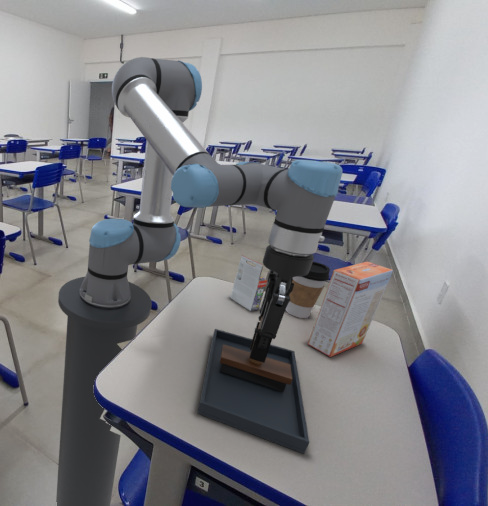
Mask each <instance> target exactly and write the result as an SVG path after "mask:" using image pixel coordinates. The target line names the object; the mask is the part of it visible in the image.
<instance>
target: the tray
mask: <svg viewBox="0 0 488 506" xmlns="http://www.w3.org/2000/svg"><path fill="white" fill-rule="evenodd" d="M252 339H253V338H250V337H245V336H242V335H239V334H235V333H231V332H228V331H225V330H222V329H217V328H214V331H213V334H212V339H211V344H210V348H209V354H208V359H207V364H206V369H205V374H204V378H203V384H202V389H201V392H200V393H201V394H200V399H199V405H198V410H197V414H198V415H199V416H203V417H206V418H208V419H211V420H213V421H216V422H219V423H221V424H223V425H227V426H229V427H232V428H234V429H236V430H240V431H241V432H245V433H247V434H250V435H253V436H255V437H258V438H260V439H262V440H263V439H264V440H266V441H269V442H272V443H273V444H276V445H278V446H282V447H283V448H287V449H288V450H289V449H290V450H292V451H295V452H297V453H300V454H302V455H305V454H306V451H307V449H308V446H309V444H310V438H309V432H308V426H307V420H306V419H307V418H306V413H305V408H304V402H303V396H302V390H301V382H300V377H299V371H298V365H297V359H296V353H295V351H294V350H292V349H288V348H284V347H281V346H278V345H275V344H271V345H270V348H269V351H268V354H267V358H271V359H274V360H277V361H281V362H284V363H287V364H290V366H291V373H292V382H291V384H290V385H288V384H286V387H285V390H284V392H281V391H278V390H275V389H272V388H269V387H266V386H263V385H260V384H256V383H253V382H250V381H247V380H244V379H241V378H238V377H235V376H232V375H229V374H226V373H223V372H220V366H221V363H220V357H221V350H222V346H223V344H224V345H227V346H230V347H234V348H237V349H240V350H244V351H247V352H250V353H251V350H250V346H251V343H252Z"/></svg>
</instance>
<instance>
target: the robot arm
mask: <svg viewBox="0 0 488 506" xmlns="http://www.w3.org/2000/svg"><path fill="white" fill-rule="evenodd" d="M202 90H203V80H202V76H201V73H200V71H199V70H198V69H197V67H196V66H195V65H194V64H191V63H190V62H185V61H182V60H175V59H174V60H173V59H162V58H153V57H152V58H151V57H146V56H139V57H135V58H132V59H129V60H128V61H126V62H125V63H124V64H122V65H121V66H120V67H119V68H118V70H117V71H116V73H115V75H114V77H113V80H112V83H111V97H112V100H113V103H114V105H115V106H116V108H117V109H118V111H119V113H120V114H121V115H122V116H124V117H126V118H130V120H131V121H132V123H133V124H134V125H135V126H136V128H137V129H138V131H139V132H140V133H141V135H142V136H143V137H144V139H145V140H146V142H145V152H144V161H143V162H144V163H143V172H142V183H141V192H140V202H139V211H138V212H136V213H135V214H134V215H133V220H132V221H130V220H128V219H124V218H107V219H102V220H100V221H97V222H96V223H95V224H93V226H92V227H91V230H90V235H89V239H88V240H89V242H88V243H89V246H88V247H89V248H88V261H87V272H86V274H85V276H84V277H85V278H84V280H83V283H82V285H81V288H80V298H81V299H82V301H83V302H85V303H86V304H88V305H90V306H92V307H95V308H99V309H108V310H112V309H119V308H122V307H125V306H126V305H128V304H129V302H130V297H131V293H130V288H129V283H128V282H129V279H128V271H129V266H130V265H139V264H146V263H147V264H149V263H160V262H163V261H168V260H170V259H172V258H173V257H174V256H175V255H176V254H177V253H178V251H179V249H180V246H181V242H182V241H181V239H182V238H181V237H182V235H181V233H180V228H179V227H178V225H177V224H176V223H175V218H174V217H173V215H172V214H171V208H172V207H171V206H172V201H173V200H174V201H175V202H176V203H177V204H178V206H181V207H183V208H196V209H203V208H211V207H224V206H245V205H256V206H259V207H264V208H267V209H269V210H273V211H276V213H275V217H274V220H273V223H272V227H271V230H270V232H269V235H268V240H267V243H268V244H269V245H267V246H266V248H265V252H264V256H263V259H262V265H263V267H264V268H266V269H267V270H269V273H268V276H267V283H266V287H265V291H264V294H263V298H262V301H261V304H260V308H259V309H258V311H259V312H258V313H259V316H258V321H257V323H256V327H255V328H254V333H253V337H252V338H251V339H252V343H251V346H250V350H251V349H252V350H251V354H250V359H253V360H256V361H260V362H263V363H265V360H266V357H267V354H268V351H269V348H270V345H272V342H273V340H275V339H276V338H277V334H278V331H279V328H280V326H281V323H282V320H283V317H284V314H285V313H286V307H287V305H288V303H289V301H290V296H289V295H290V293H291V292H292V290H293V287H294V283H292V281H293V277H297V276H298V277H302V276H305V275H307V274H308V273H309V271H310V268H311V265H312V262H314V260H315V256H314V254H316V252H317V250H318V247H319V243H320V242H324V241H325V238H326V237H325V236H324V235H323V232H324V230H325V227H326V224H327V220H328V217H329V216H330V212H331V211H332V210H331V209H332V207H333V204H334V202H335V199H336V197H337V196H338V194H339V187H340V183H341V180H342V177H343V168H342V166H341V165H339V164H338V163H334V162H329V161H319V160H311V159H296V160H293V161H292V162H291V163H290V165H289V168H282V167H278V166H273V165H268V164H262V163H261V162H258V161H255V162H253V161H239V162H238V163H235V164H220V163H218V161H216V159H215V158H214V157H213V156H212V155H211V154H210V153H209V152H208V151H207V150H206V148H205V147H204V146H203V145H202V144H201V142H200V141H199V140H198V139H197V138H196V137H195V135H194V134H193V133H192V132H191V131H190V130H189V129H188V127H187V126H186V125H185V123H184V122H186V121H187V120H188V119H189V114H190V111H192V110H193V109H195V108H196V107H197V105H198V102H200V99H201V96H202V92H203V91H202ZM172 199H173V200H172ZM262 316H263V319H262V322H261V326H260V329H258V327H259V324H260V321H261V317H262ZM256 333H257V334H256ZM254 340H255V341H254ZM253 343H254V344H253ZM252 346H253V347H252Z"/></svg>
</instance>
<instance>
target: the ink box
mask: <svg viewBox="0 0 488 506" xmlns="http://www.w3.org/2000/svg"><path fill="white" fill-rule="evenodd" d="M250 263H252V264H253V265H252V264H250ZM254 265H255V266H254ZM263 269H264V265H263V263H260V262H258V261H255V260H254V259H251V258H249V257H247V256H245V255H243V254H242V255H241V257H240V260H239V264H238V267H237V270H236V275H235V278H234V282H233V286H232V290H231V294H230V299H231V300H232V301H233V302H235V303H237V304H238V305H240V306H241V307H243V308H245V309H246V310H248V311H249V312H252V311H259V310H260V308H261V305H262V301H263V298H264V294H265V291H266V286H267V283H268V278H265V277H264V276H261V275H262V272H263Z"/></svg>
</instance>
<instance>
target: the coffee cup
mask: <svg viewBox="0 0 488 506" xmlns="http://www.w3.org/2000/svg"><path fill="white" fill-rule="evenodd" d="M330 271H331V268H330V267H329V266H327V265H325V264H324V263H321V262H318V261H313V262H312V265H311V268H310V271H309V273H308V274H307V275H305V276H302V277H298V276H297V277H293V281H292V283H294V287H293V290H292V292H291V293H290V295H289V296H290V301H289V303H288V305H287V307H286V309H285V312H286V313H288V314H289V315H291V316H293V317H296V318H298V319H299V318H300V319H307V318H309V317H310V315H311V313H312V311H313V309H314V307H315V305H316V303H317V302H318V299H319V298H320V295H321V294H322V291H323V290H324V288H325V284H326V282H327V281H329V278H330Z"/></svg>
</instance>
